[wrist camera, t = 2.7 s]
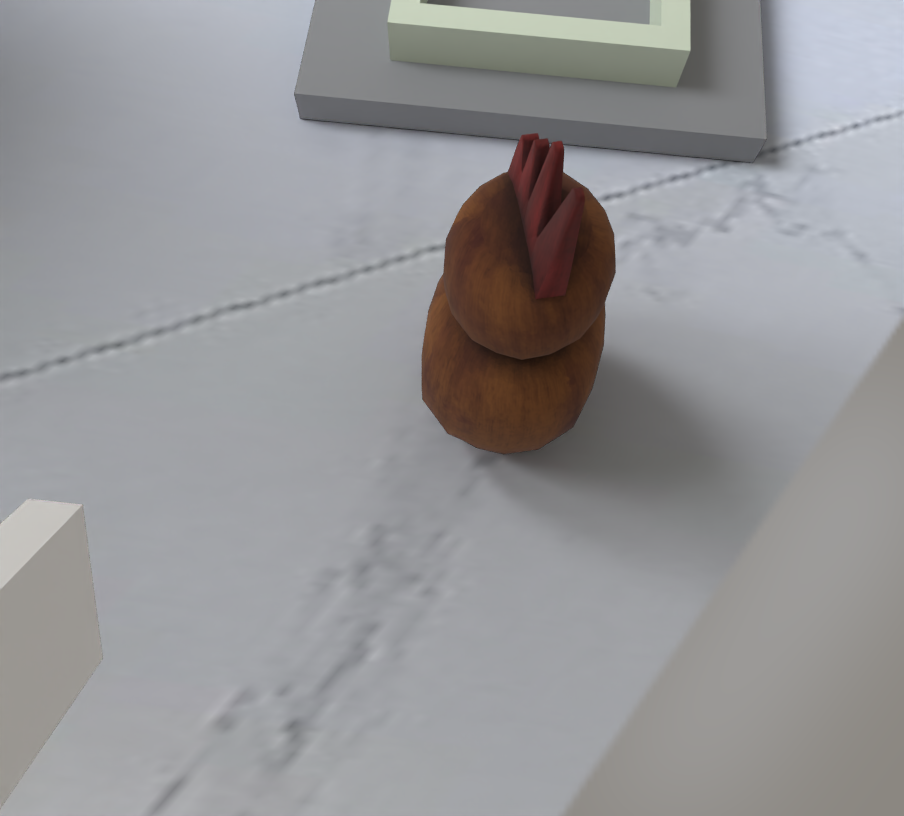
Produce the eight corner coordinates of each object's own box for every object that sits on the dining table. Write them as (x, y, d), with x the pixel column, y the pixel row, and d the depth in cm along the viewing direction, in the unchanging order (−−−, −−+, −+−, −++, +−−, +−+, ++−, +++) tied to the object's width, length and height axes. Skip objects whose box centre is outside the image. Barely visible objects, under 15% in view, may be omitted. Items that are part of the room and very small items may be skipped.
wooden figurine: (562, 491, 28) (685, 288, 14) (409, 459, 28) (379, 229, 14) (589, 329, 30) (717, 15, 16) (447, 301, 31) (453, -29, 17)
